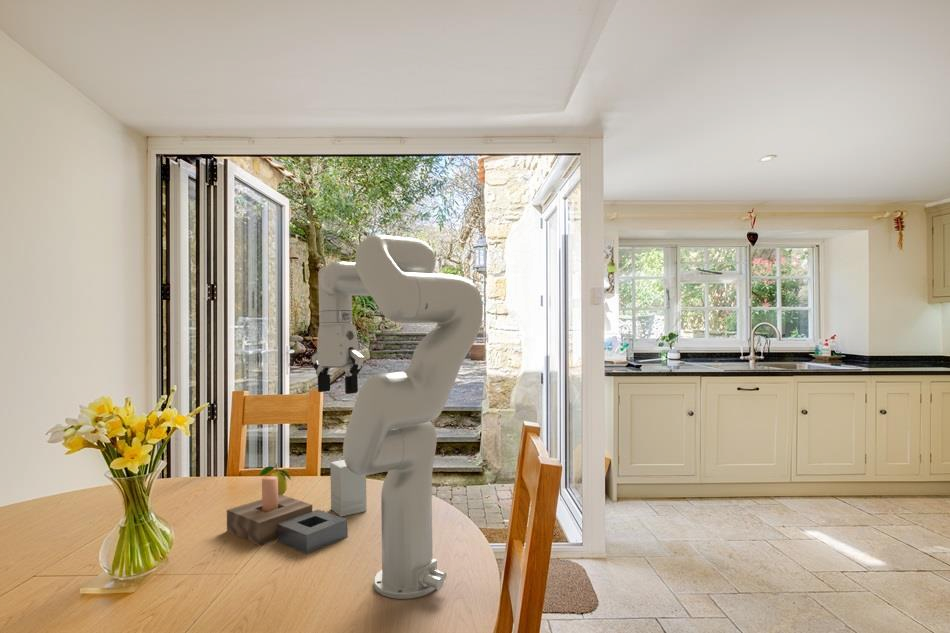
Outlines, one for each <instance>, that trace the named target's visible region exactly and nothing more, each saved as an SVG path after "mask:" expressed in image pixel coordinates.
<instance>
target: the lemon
mask: <svg viewBox="0 0 950 633" xmlns="http://www.w3.org/2000/svg"><path fill="white" fill-rule="evenodd" d="M277 467H278V462H276V463H275V466H266V467H264V468H263V469H262V470H261V471H260V472H259V476H265V475H267V474H269V473H271V472H272V471H273V470H274V469H275V471H274V472H273V473H271V474H270V475H269V476H276V477H278V494H280V495H284V494H285V493H286V491H287V488H288V482H287V478H288V479H289V480H290V481H291V477H290V476H291V475H289V473H288V472H287V471H285V470H284V469H278V468H277Z"/></svg>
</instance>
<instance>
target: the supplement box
mask: <svg viewBox="0 0 950 633" xmlns="http://www.w3.org/2000/svg"><path fill="white" fill-rule="evenodd" d="M329 469H330V510H332V511H333V512H334V513H335V514H337V516H339V517H345V516H351V515H355V514H359V513H363V512H367V510H368V509H367V506H368V505H367V475H357V474H355V473H353V472H351V471H350V470H349V469H348V467H347V466H346V463H345V461H344V459H341V460H336V461H331V462H330V468H329Z"/></svg>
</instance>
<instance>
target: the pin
mask: <svg viewBox="0 0 950 633" xmlns="http://www.w3.org/2000/svg"><path fill="white" fill-rule="evenodd" d="M261 499H262V511H263V512H270V511H273V510H276V509H278V477H276V476H270V475H269V476H265V477H263V478H262V479H261Z"/></svg>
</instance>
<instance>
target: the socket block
mask: <svg viewBox="0 0 950 633" xmlns="http://www.w3.org/2000/svg"><path fill="white" fill-rule="evenodd" d="M312 511H313V504H311V503H308V502H306V501H305V502H304V501H301V500H298V499H296V498H292V497H289V496H286V495H284V494H283V495H280V494H278V509H276V510H273V511H270V512H263V511H262V498H261V499H258V500H256V501H251V502H249V503H245V504H242V505H241V504H240V505H239V506H235V507H231V508H229V509H226V531H227V532H228V533H230V534H233V535H236V536H238V537H240V538H242V539H244V540H247V541H249V542H251V543H253V544H256V545H258V546H261V545H264V544H267V543H269V542H271V541H274V540H277V524H278V523H281V522H284V521H287V520H289V519H292V518H295V517H298V516H301V515H304V514H307V513H309V512H312Z"/></svg>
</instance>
